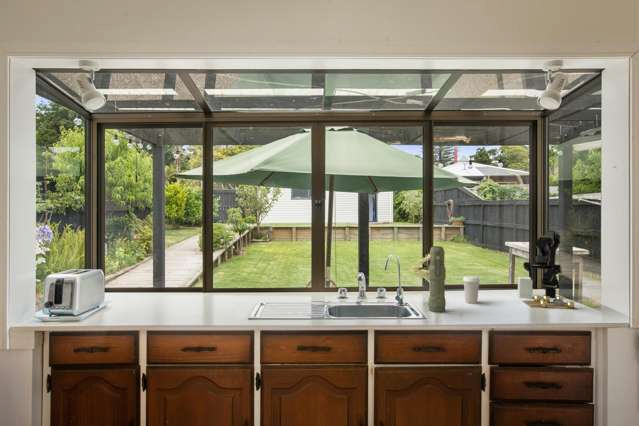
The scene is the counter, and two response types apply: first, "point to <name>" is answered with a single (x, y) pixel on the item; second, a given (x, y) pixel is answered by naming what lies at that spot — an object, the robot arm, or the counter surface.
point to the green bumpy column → (437, 280)
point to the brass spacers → (547, 300)
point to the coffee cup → (471, 289)
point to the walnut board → (549, 305)
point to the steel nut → (558, 302)
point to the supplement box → (525, 287)
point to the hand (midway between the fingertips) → (540, 281)
